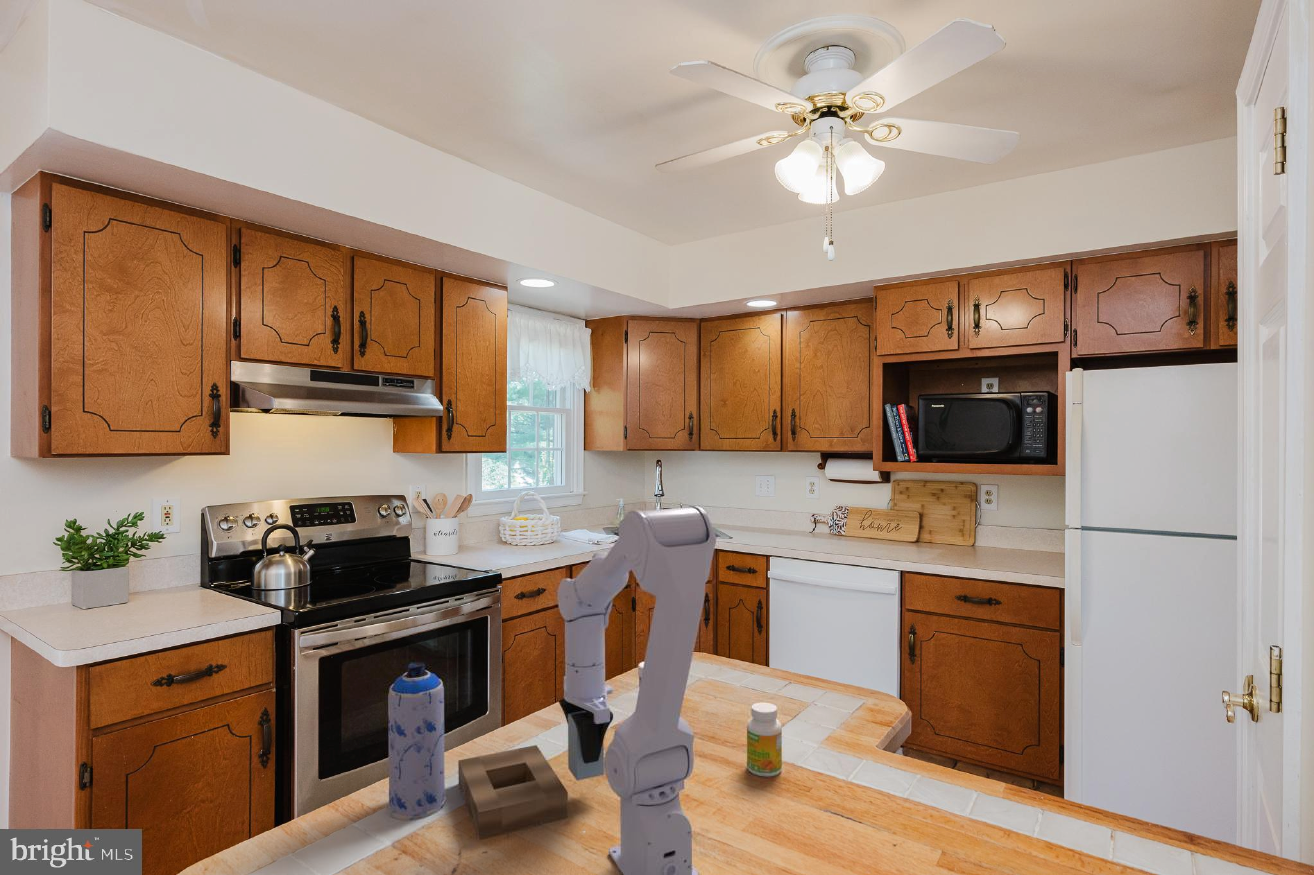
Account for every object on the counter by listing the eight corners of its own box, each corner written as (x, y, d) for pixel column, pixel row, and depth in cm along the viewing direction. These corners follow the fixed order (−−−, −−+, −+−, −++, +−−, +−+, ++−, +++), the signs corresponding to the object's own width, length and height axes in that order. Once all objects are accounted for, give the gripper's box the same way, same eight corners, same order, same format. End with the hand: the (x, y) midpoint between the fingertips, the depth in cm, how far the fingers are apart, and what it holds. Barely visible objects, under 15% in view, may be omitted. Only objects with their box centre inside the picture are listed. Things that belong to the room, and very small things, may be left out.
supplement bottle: (741, 772, 109) (741, 710, 108) (753, 758, 113) (753, 698, 113) (775, 780, 106) (775, 716, 106) (786, 765, 111) (786, 704, 111)
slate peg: (603, 774, 100) (603, 719, 100) (577, 780, 99) (576, 724, 99) (594, 763, 104) (593, 709, 104) (568, 768, 102) (567, 713, 102)
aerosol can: (457, 799, 101) (456, 660, 101) (413, 826, 94) (412, 677, 94) (420, 785, 105) (419, 652, 105) (375, 810, 98) (374, 667, 98)
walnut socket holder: (567, 817, 96) (567, 792, 96) (479, 839, 91) (478, 812, 91) (536, 767, 111) (536, 745, 111) (458, 783, 106) (458, 760, 105)
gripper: (630, 672, 96) (630, 770, 96) (594, 643, 110) (594, 730, 110) (581, 680, 93) (582, 781, 93) (550, 649, 107) (550, 739, 107)
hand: (585, 754), depth 101 cm, fingers closed on slate peg, 4 cm apart
